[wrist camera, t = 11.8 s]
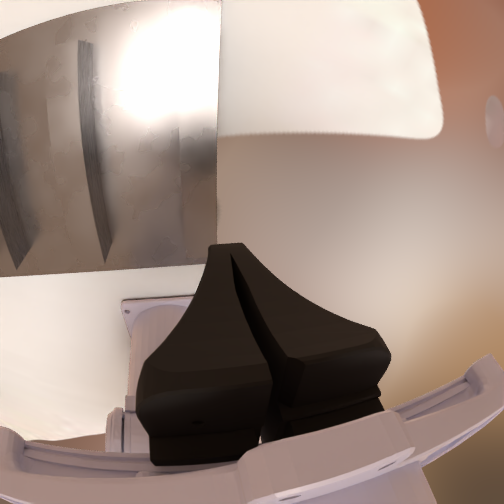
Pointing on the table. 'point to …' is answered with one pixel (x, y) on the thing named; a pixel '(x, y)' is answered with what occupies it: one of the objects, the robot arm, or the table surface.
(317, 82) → the table surface
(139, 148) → the rack
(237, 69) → the table surface
